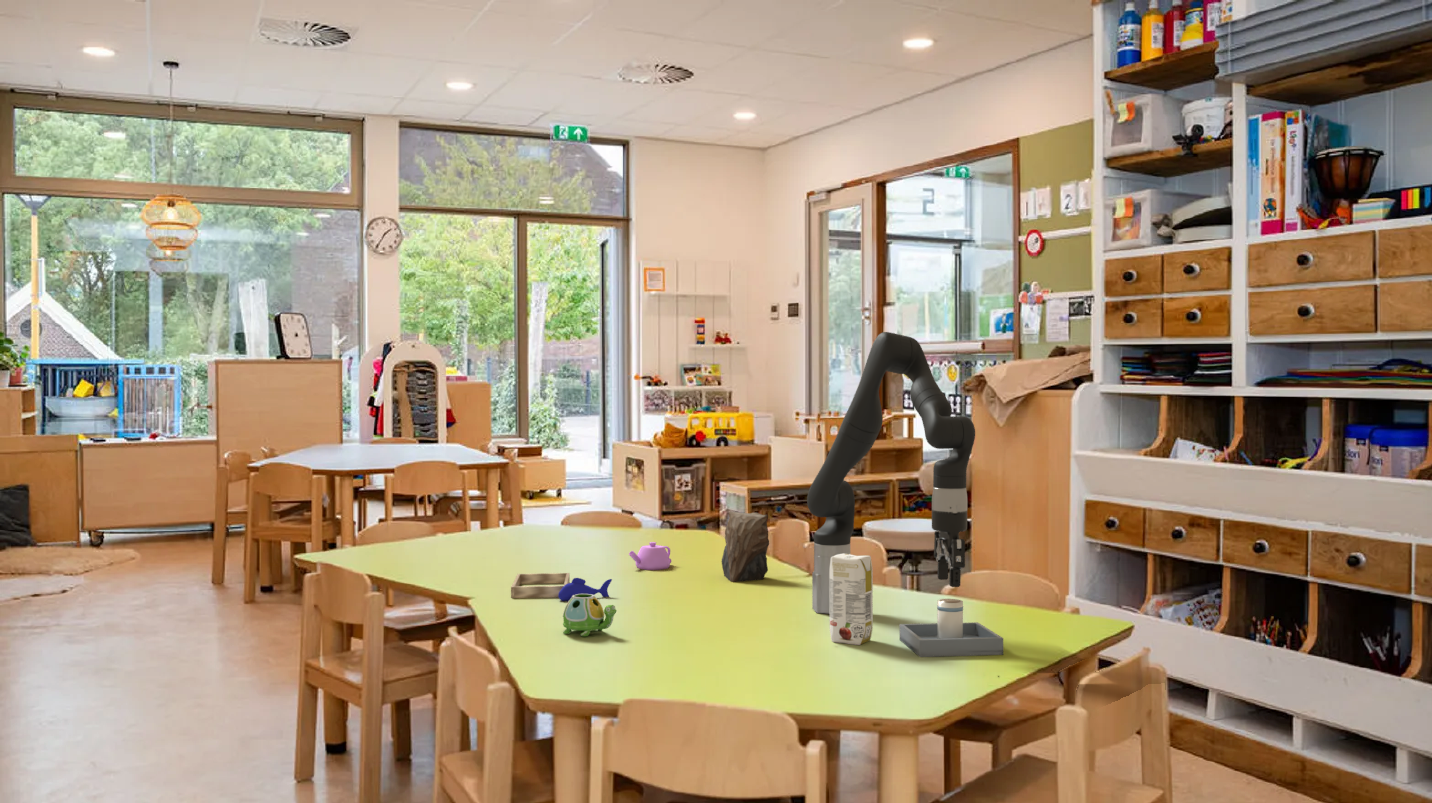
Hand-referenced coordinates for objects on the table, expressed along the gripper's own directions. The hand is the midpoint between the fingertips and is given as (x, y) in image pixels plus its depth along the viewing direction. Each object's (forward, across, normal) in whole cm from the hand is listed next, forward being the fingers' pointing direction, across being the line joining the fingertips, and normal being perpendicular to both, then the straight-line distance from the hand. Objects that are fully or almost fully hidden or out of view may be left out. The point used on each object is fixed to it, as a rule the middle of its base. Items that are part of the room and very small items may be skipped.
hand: (948, 583), depth 238 cm
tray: (+14, 0, 0) cm, 14 cm away
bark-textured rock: (+15, -88, -33) cm, 96 cm away
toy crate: (+15, -72, -92) cm, 118 cm away
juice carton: (+14, -8, -20) cm, 26 cm away
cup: (+13, 0, 0) cm, 13 cm away
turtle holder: (+15, -23, -78) cm, 82 cm away
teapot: (+16, -106, -61) cm, 123 cm away
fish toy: (+15, -60, -80) cm, 101 cm away
